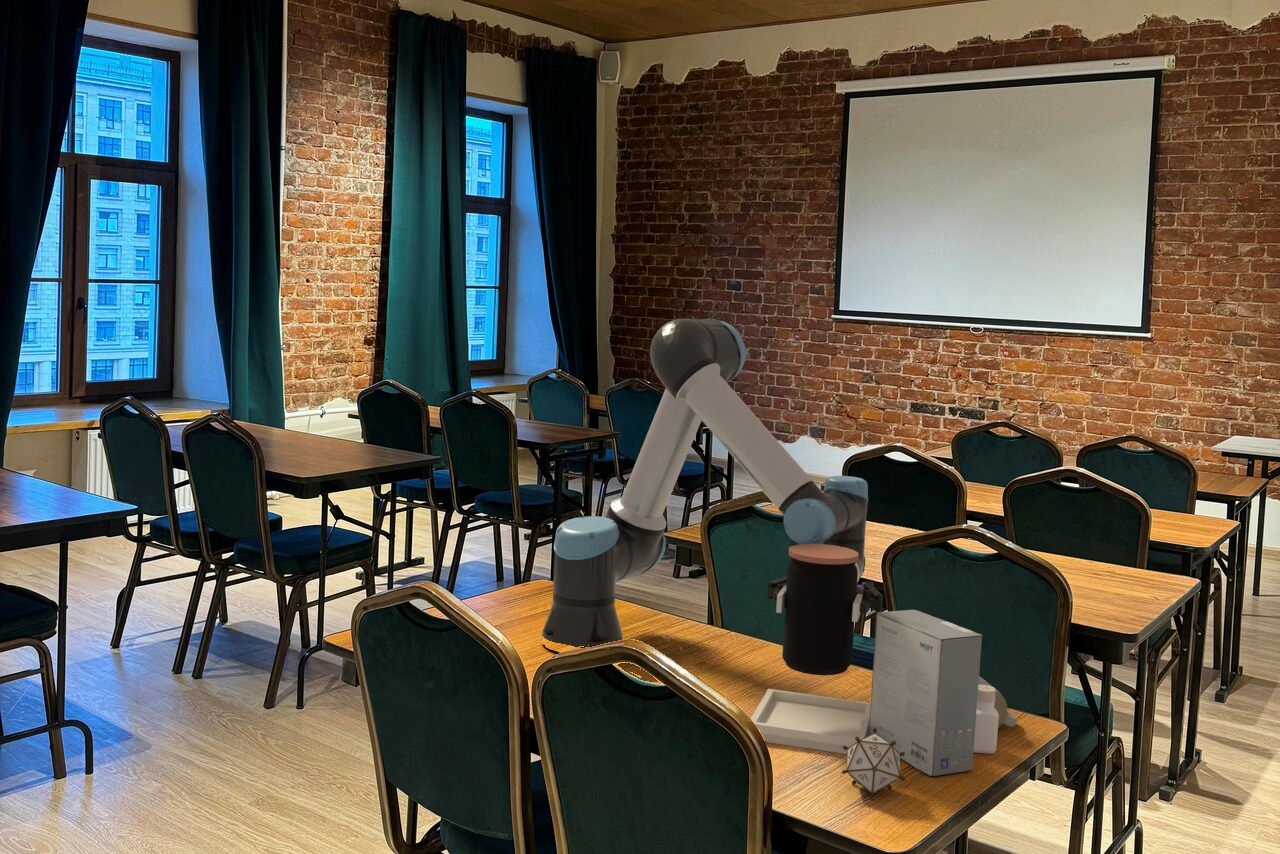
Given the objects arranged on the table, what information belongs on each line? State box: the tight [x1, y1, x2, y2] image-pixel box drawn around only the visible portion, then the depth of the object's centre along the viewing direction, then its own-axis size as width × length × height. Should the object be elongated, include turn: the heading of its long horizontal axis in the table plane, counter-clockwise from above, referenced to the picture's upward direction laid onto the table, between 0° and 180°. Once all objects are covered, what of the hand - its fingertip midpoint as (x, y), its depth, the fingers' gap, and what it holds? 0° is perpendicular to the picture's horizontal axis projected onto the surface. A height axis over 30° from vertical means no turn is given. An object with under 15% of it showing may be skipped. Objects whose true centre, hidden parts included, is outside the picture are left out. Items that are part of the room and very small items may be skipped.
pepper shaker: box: [973, 685, 999, 755], centre depth 174 cm, size 4×4×10 cm
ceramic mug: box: [978, 675, 1018, 729], centre depth 184 cm, size 11×8×8 cm
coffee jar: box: [781, 543, 859, 676], centre depth 178 cm, size 11×11×18 cm
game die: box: [840, 727, 907, 801], centre depth 157 cm, size 9×8×10 cm
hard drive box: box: [868, 609, 983, 777], centre depth 170 cm, size 16×8×20 cm, turn 25°
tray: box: [750, 688, 871, 755], centre depth 180 cm, size 17×17×2 cm
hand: (816, 608), depth 174 cm, fingers closed on coffee jar, 11 cm apart
